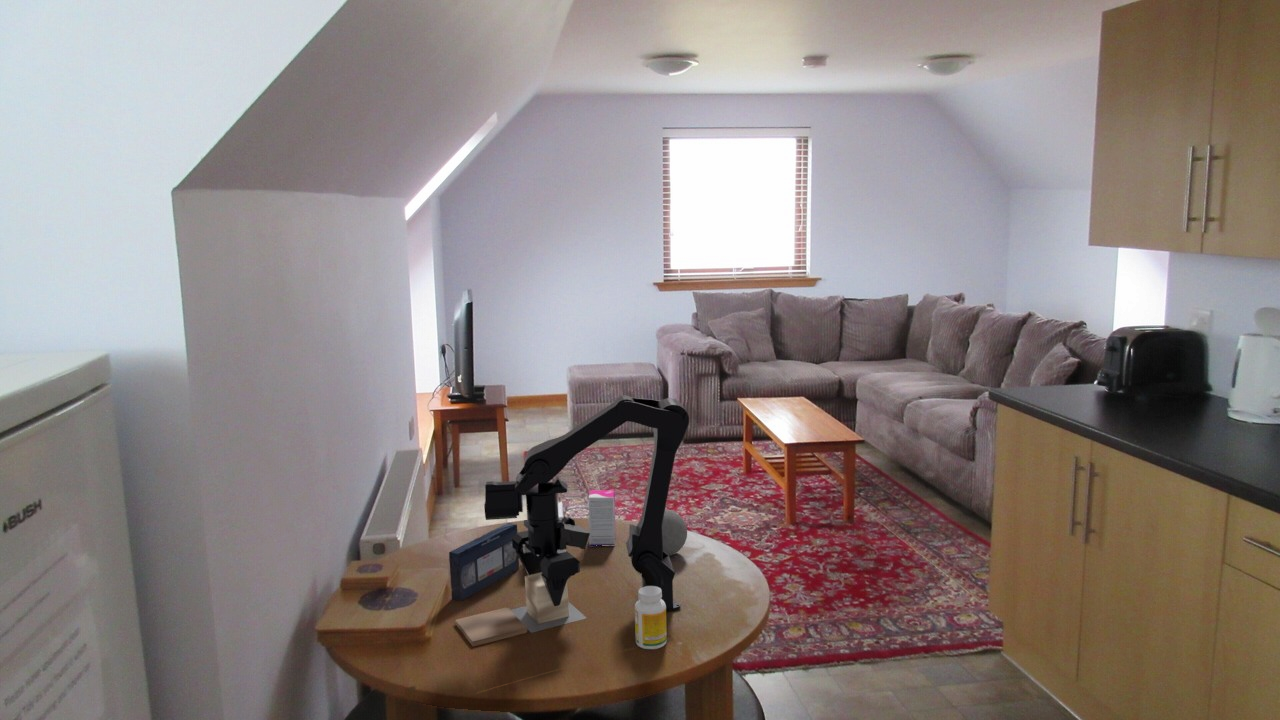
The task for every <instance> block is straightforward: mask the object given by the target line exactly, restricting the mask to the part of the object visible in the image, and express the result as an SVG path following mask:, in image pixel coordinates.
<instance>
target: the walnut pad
mask: <svg viewBox="0 0 1280 720" xmlns="http://www.w3.org/2000/svg"><path fill="white" fill-rule="evenodd" d="M455 625H456V626H457V628H458V630H459V631H460V632H461V633H462V635H463V636H464V638H465V639H466V640H467V641H468V642H469V643H470V645H471V646H472V647H476V646H480V645H485V644H488V643H492V642H496V641H500V640H503V639H508V638H512V637H515V636H519V635H522V634H527V633H528V629H527V627H526V626H525V625H524V624H523V623H522V622H521V621H520V620H519V619H518V618H517V617H516V616H515V615H514V613H513V612H512V611H511V609H510V608H509V607H508V606H507V607H503V608H498V609H494V610H490V611H485V612H482V613H478V614H474V615H469V616H465V617H461V618H457V619H455Z"/></svg>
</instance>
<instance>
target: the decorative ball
mask: <svg viewBox="0 0 1280 720" xmlns="http://www.w3.org/2000/svg"><path fill="white" fill-rule="evenodd" d="M687 528H688V527H687V524H686V522H685V520H684V519H683V517H682V516H681V515H680V514H679V513H677V512H676V511H674V510H671V509H668V508H667V509H666V508H665V512H664V517H663V523H662V538H663V551H664V552H665V553H666V554H668V555H669V557H670V556H673V555H675V554H676V553H677V554H678V552H679V551H680V550H681V549H682V548H683V547H684V546H685V543H687V538H688V529H687Z"/></svg>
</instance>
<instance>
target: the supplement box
mask: <svg viewBox="0 0 1280 720" xmlns="http://www.w3.org/2000/svg"><path fill="white" fill-rule="evenodd" d="M615 493H616V490H612V489H611V490H610V489H609V490H608V489H607V490H605V489H603V490H600V489H599V490H598V489H597V490H594V489H593V490H590V491H589V493H588V532H590V535H589V538H588V542H589V545H588V546H596V545H597V546H602V545H614V546H615V540H616V503H615V502H616V496H615V495H616V494H615Z"/></svg>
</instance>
